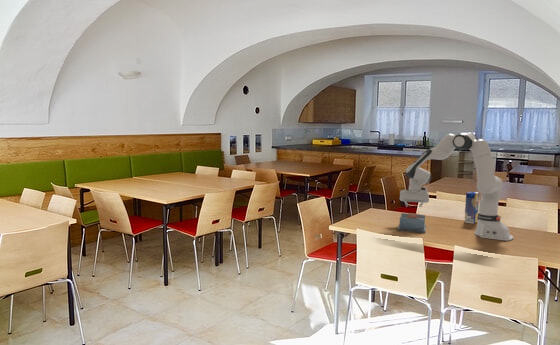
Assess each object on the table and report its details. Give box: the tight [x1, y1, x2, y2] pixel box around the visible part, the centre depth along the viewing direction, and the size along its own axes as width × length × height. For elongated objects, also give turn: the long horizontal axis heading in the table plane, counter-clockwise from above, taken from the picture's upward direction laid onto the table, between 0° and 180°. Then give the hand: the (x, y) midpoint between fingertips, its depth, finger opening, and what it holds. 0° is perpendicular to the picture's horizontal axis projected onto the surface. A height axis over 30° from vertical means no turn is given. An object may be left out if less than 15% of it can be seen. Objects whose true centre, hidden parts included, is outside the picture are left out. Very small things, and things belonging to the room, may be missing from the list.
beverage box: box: [463, 191, 480, 224], centre depth 321 cm, size 7×11×22 cm, turn 144°
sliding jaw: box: [400, 212, 426, 225], centre depth 304 cm, size 16×2×7 cm, turn 70°
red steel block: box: [407, 212, 418, 218], centre depth 297 cm, size 6×4×9 cm
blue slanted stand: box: [396, 216, 427, 234], centre depth 298 cm, size 18×20×8 cm
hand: (413, 206), depth 306 cm, fingers open, 8 cm apart
